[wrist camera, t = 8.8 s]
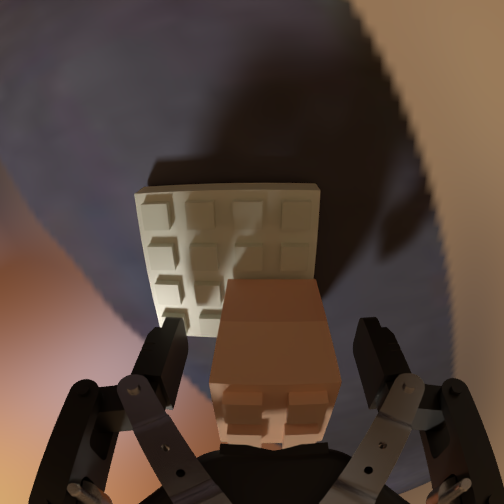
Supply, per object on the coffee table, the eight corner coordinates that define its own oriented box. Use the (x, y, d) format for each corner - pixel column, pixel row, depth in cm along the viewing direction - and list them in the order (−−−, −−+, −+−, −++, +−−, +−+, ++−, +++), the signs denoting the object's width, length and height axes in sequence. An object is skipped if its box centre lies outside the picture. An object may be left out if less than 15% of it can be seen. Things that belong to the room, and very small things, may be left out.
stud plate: (144, 186, 14) (130, 196, 12) (315, 183, 13) (322, 193, 12) (167, 320, 17) (160, 338, 16) (304, 323, 17) (307, 342, 15)
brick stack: (227, 278, 14) (206, 395, 8) (315, 279, 14) (344, 394, 8) (232, 342, 16) (219, 451, 10) (307, 342, 15) (322, 451, 10)
